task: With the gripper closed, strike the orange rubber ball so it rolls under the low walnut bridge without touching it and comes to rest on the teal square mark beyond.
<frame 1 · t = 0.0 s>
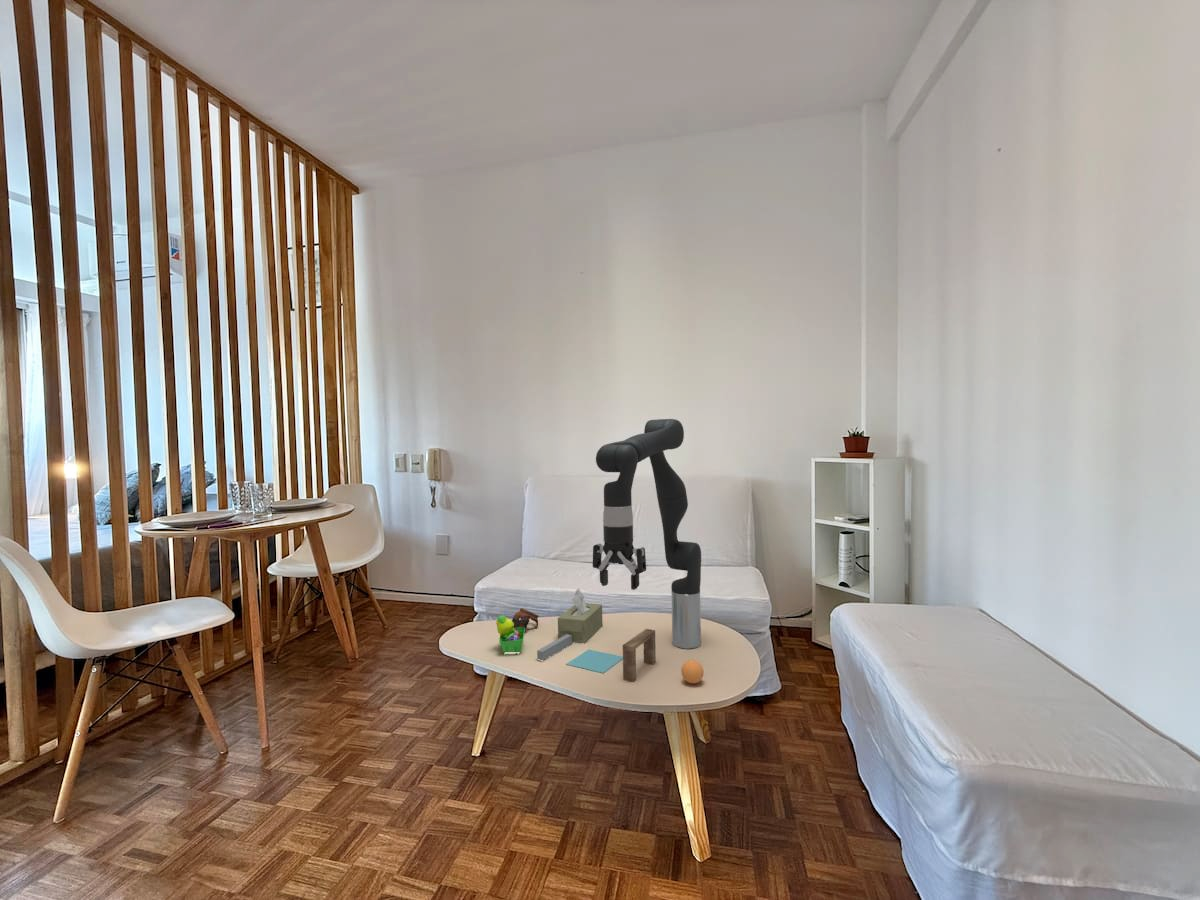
hand: (619, 587, 136), 29 cm above the table, tool pointing down, fingers open, 8 cm apart
bridge: (640, 670, 155), on the table
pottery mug: (524, 630, 192), on the table
ball: (692, 671, 147), on the table
stopper wall: (555, 652, 170), on the table
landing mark: (595, 661, 163), on the table
tissue box: (581, 634, 187), on the table
fruit basket: (510, 650, 173), on the table
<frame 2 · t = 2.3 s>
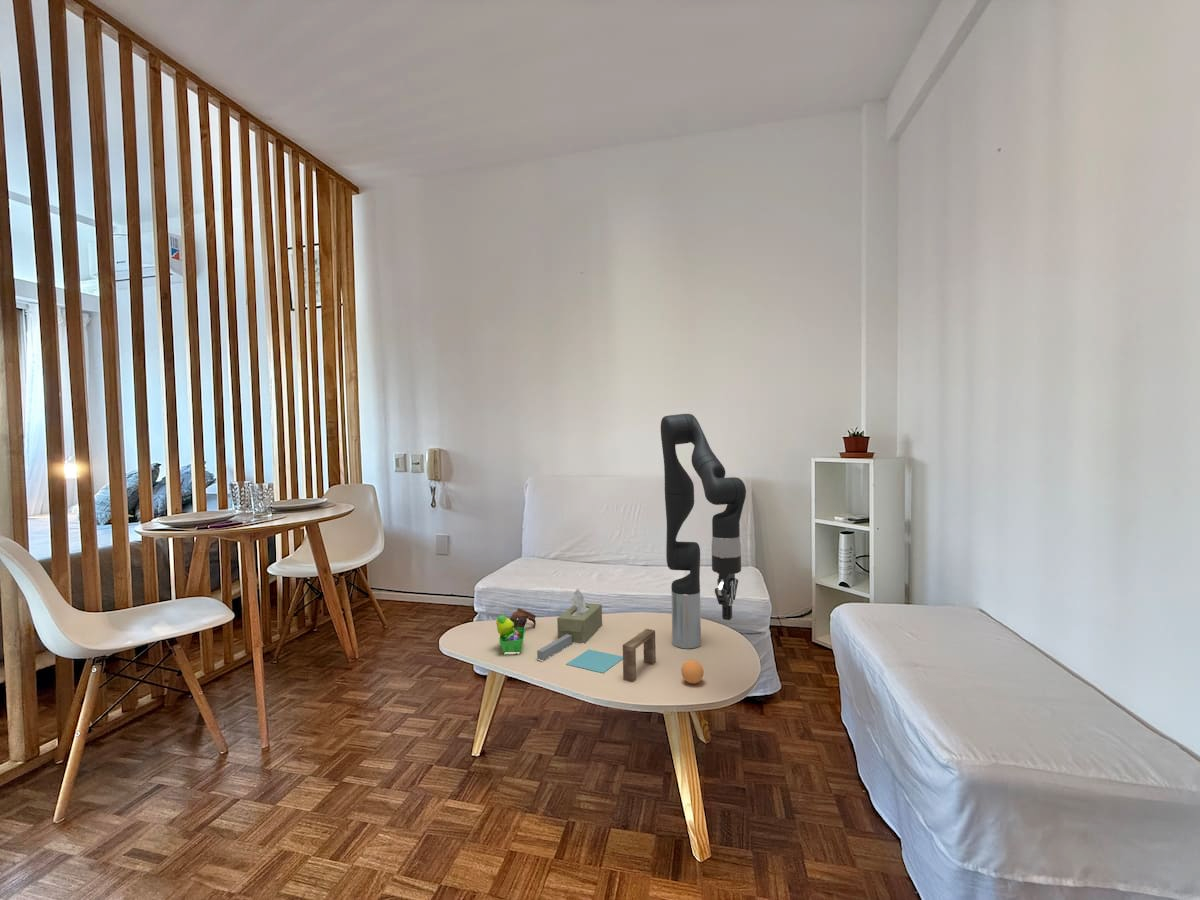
hand: (727, 618, 141), 19 cm above the table, tool pointing down, fingers closed
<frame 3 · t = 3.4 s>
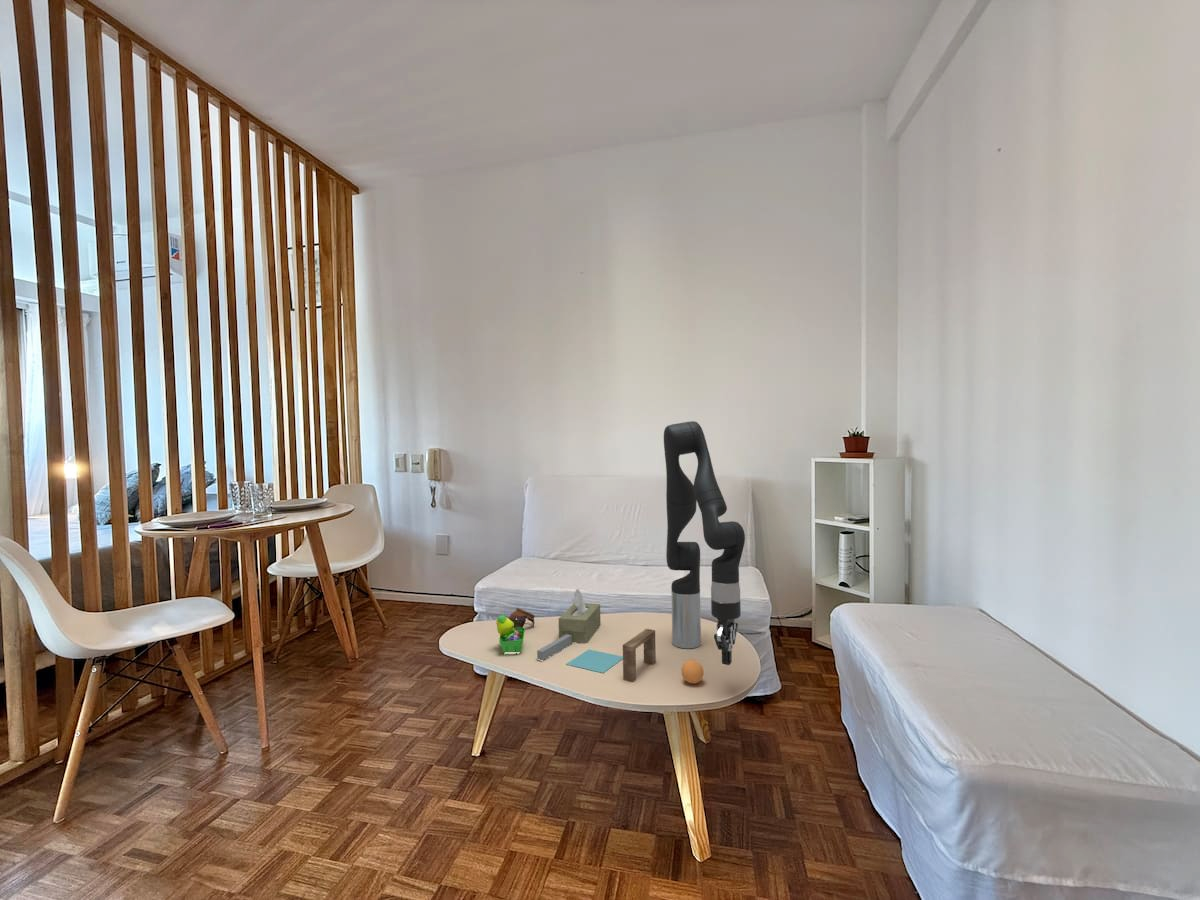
hand: (726, 663, 141), 7 cm above the table, tool pointing down, fingers closed
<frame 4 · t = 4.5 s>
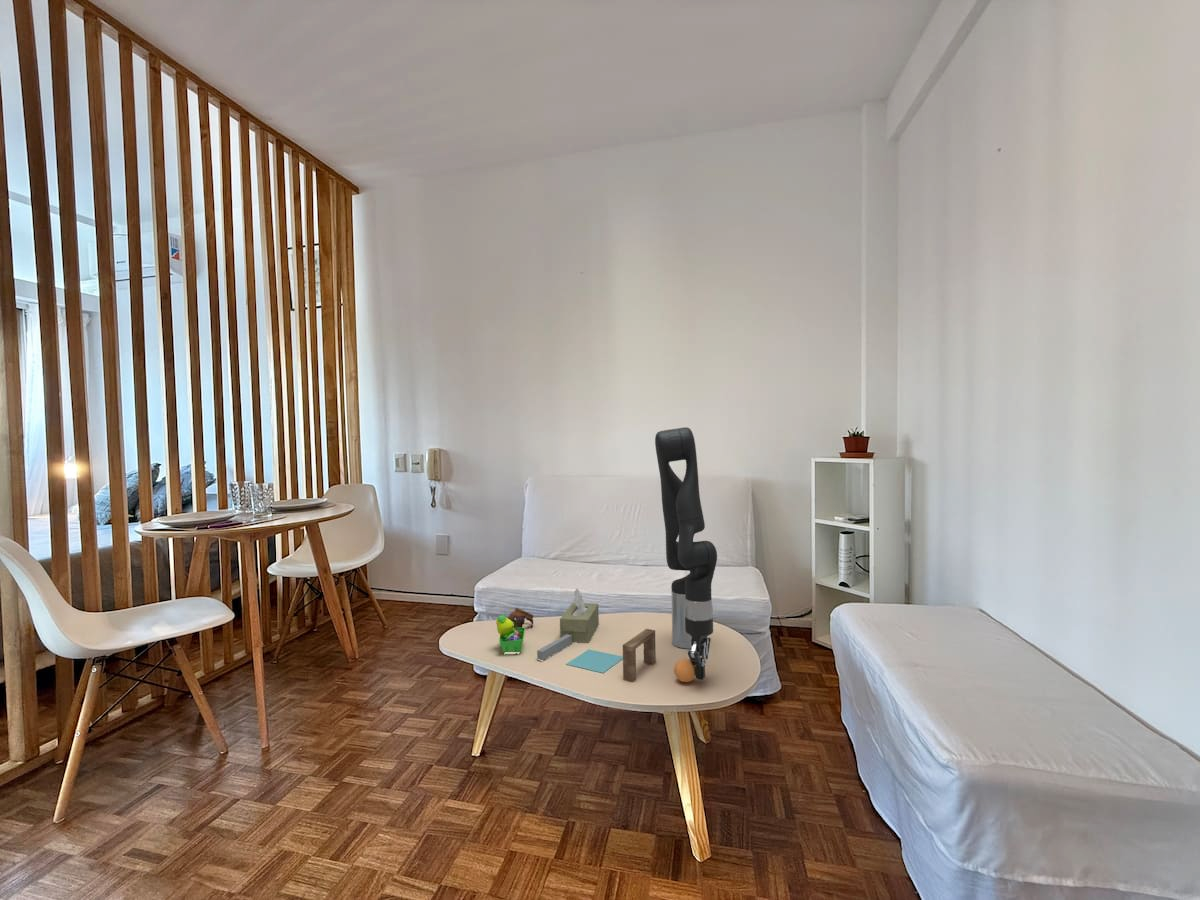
hand: (700, 678, 146), 1 cm above the table, tool pointing down, fingers closed
ball: (685, 670, 148), on the table
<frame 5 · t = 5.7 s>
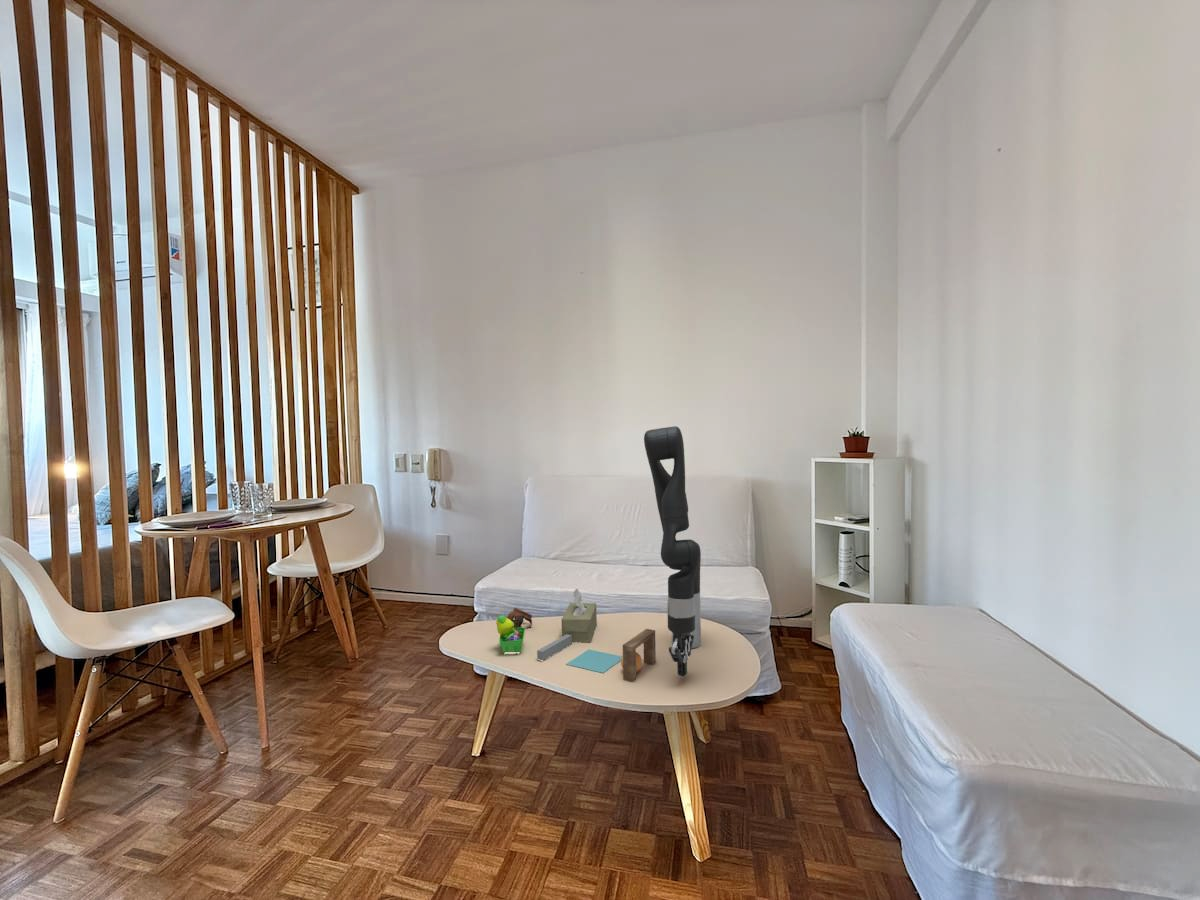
hand: (682, 674, 148), 1 cm above the table, tool pointing down, fingers closed
ball: (631, 661, 154), on the table
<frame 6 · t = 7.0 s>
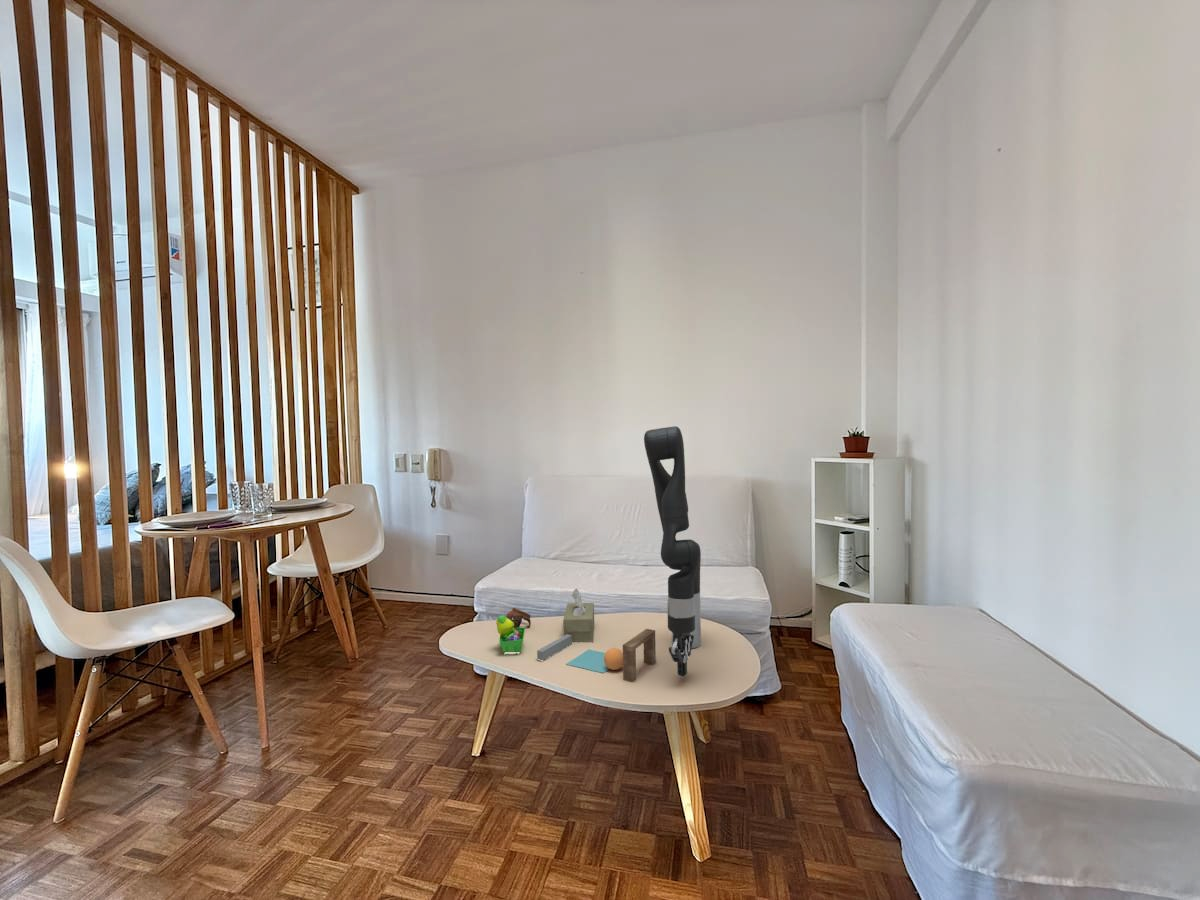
hand: (682, 674, 148), 1 cm above the table, tool pointing down, fingers closed
ball: (614, 658, 156), on the table
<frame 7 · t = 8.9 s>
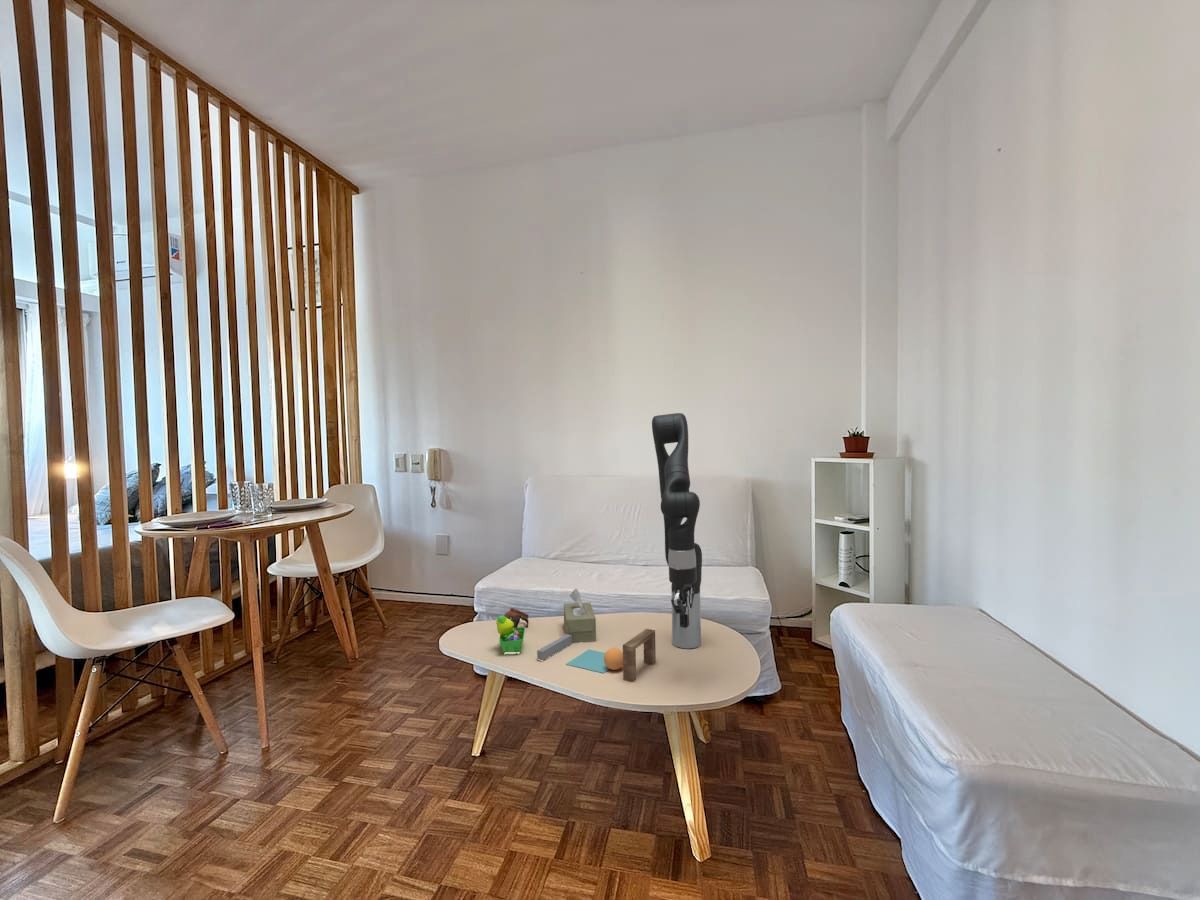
hand: (684, 626, 148), 15 cm above the table, tool pointing down, fingers closed
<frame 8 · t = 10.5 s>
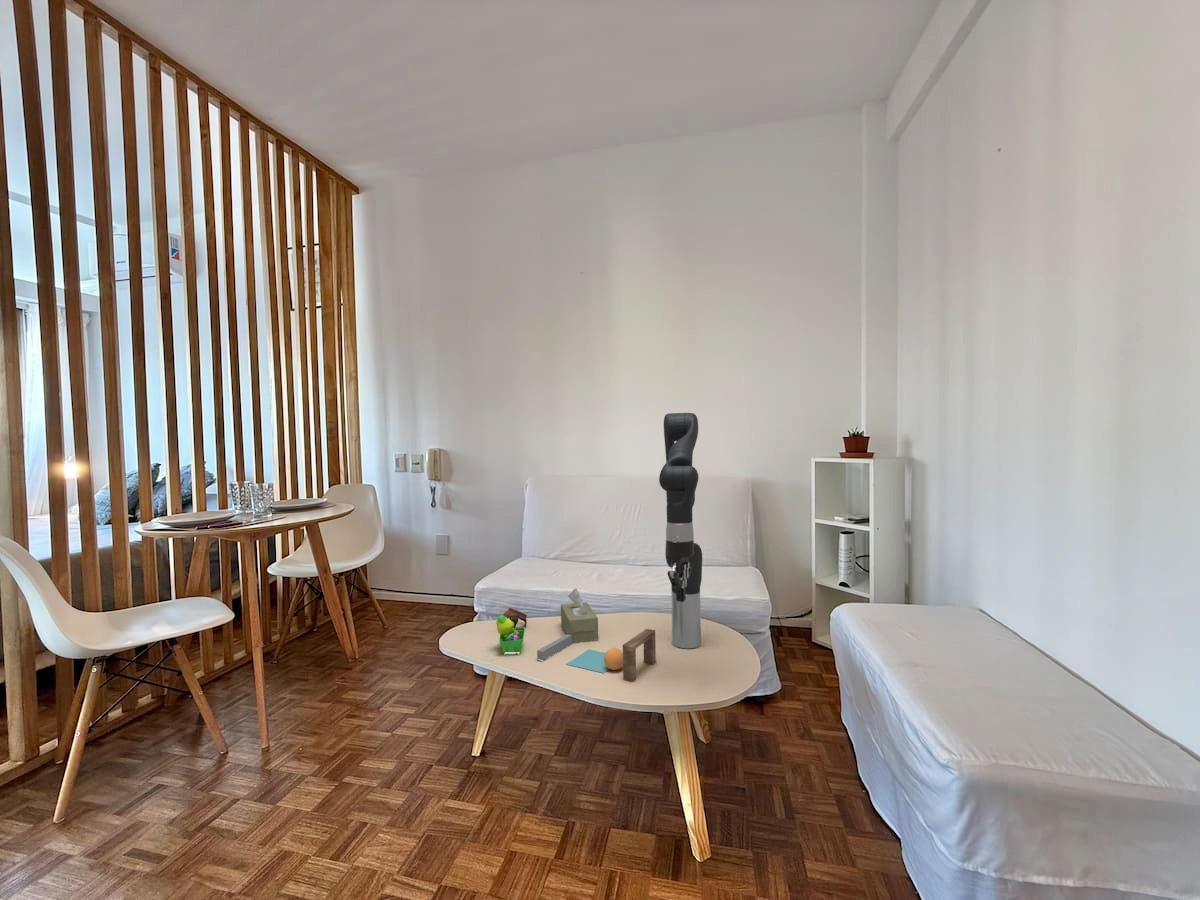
hand: (680, 600, 148), 22 cm above the table, tool pointing down, fingers closed
at the end: ball 8.2 cm from the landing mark (horizontally); ball never touched bridge; ball at rest at the end (0.0 cm/s) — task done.
